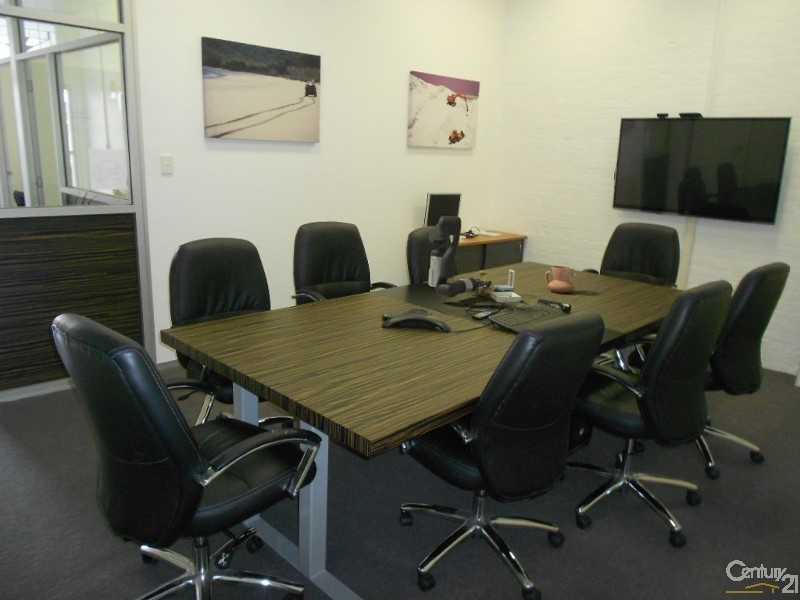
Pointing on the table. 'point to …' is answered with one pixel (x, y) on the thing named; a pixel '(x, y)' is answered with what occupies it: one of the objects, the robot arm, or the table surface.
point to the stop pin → (482, 278)
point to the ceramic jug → (561, 279)
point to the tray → (505, 296)
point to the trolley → (506, 287)
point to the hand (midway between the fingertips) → (485, 281)
